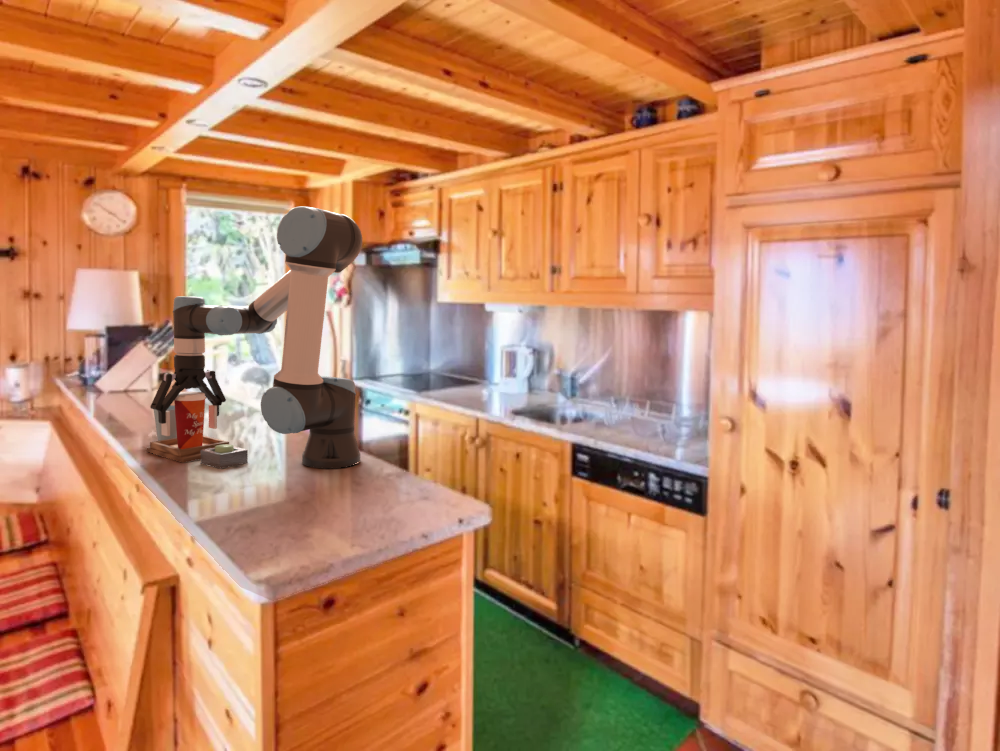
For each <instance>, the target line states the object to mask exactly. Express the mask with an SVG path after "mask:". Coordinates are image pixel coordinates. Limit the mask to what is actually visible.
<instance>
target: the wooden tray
mask: <svg viewBox="0 0 1000 751" xmlns="http://www.w3.org/2000/svg"><path fill="white" fill-rule="evenodd" d="M223 444H229V445H230V441H227V440H225V439H220V438H216V437H211V436H207V435H204V434H203V443H202V446H197V447H191V448H186V449H179V448H178V443H177V438H173V439H167V440H161V441H158V440H155V441H150V442H149V447H146V453H148V452H150V453H149V454H151V453H153V454H152V455H155V454H157V455H156V456H158V455H160V456H159V457H162V456H163V457H162V458H165V457H167V458H166V459H169V458H170V459H169V460H172V459H173V461H175V460H176V462H180V463H182V464H183V463H184V464H185V463H190V462H195V461H199V460H200V461H201V450H203V449H209V448H214V447H215V446H217V445H223Z"/></svg>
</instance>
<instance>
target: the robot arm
mask: <svg viewBox="0 0 1000 751" xmlns="http://www.w3.org/2000/svg"><path fill="white" fill-rule="evenodd" d="M276 240H277V245H279V248H280V250H281V251H282V252H283V253H284V254H285V258H284V260H285V261H284V262H285V264H286V265H287V267H288V268H289V270H288V271H287V272H286V273H285V274H284V275H283V276H281V278H279V279H278V280H277V281H276V282H274V283H273V284H272V285H271V286H270V287H269V288H268V289H266V290H265V291H263V293H262V294H261V295H259V296H258V297H257V298H256V299H255V300H253V301H252V302H251V303H249V305H214V304H213V305H212V304H211V305H210V304H207V305H206V303H205V302H206V301H205V298H204V297H201V296H200V297H199V296H181V295H180V296H178V295H177V296H176V297H174V299H173V307H172V308H173V310H172V314H173V315H172V316H173V352H174V353H175V354H174V356H173V368H174V373H167V372H163V373H162V377H161V382H160V384H159V387H158V389H157V391H156V394H155V396H154V397H153V399H152V402H151V403H150V406H149V407H150V409H151V410H153V409H155V410H158V417H159V418H158V421H159V423H161V431H162V435H165V436H170V411H167V409H168V408H169V407H170V405H172V404H174V403H173V402H174V400H175V399H176V397H177V396H178V395H179V393H180V392H184V390H189V389H198V390H199V392H203V393H204V394H205V397H206V399H207V400H208V402H209V403H210V404H208V428H209V429H213V430H216V429H218V417H219V415H220V406H222V404H223V403H226V401H227V399H226V397H225V395H224V392H223V390H222V388H221V386H220V384H219V382H218V380H217V377H216V376H217V375H216V371H215V370H212V369H210V370H209V369H207V370H206V371H205V368H206V356H205V355H204V354H205V352H206V339H205V337H206V336H205V334H211V335H218V336H221V337H222V336H233V335H242V334H255V335H256V334H257V335H258V334H259V335H260V334H261V335H262V334H265V333H270V332H272V331H273V330H274V329H275V328H276V325H277V324H278V318H280V317H281V316H282V315H283V314H285V312H286V319H285V328H284V339H283V349H282V359H281V367H280V370H278V372H276V373H275V374H274V375H273V382H272V387H269V388H268V389H267V390H265V392H264V393H263V394H262V396H261V398H260V412H261V415H262V418H263V420H264V421H265V422H266V424H267V425H268V427H269V428H271V430H273V431H274V432H277V433H278V434H282V435H288V434H289V435H290V434H299V433H301V432H305V431H308V430H309V433H308V437H307V440H306V444H305V447H304V450H303V452H302V455H301V463H302V465H304V466H306V467H311V468H314V469H315V468H317V469H325V468H333V469H342V468H341V467H345V468H347V467H346V466H350V465H353V464H355V463H357V462H359V461H360V462H361V451H360V450H359V446H358V442H357V438H356V435H355V422H356V421H355V418H356V417H355V416H356V415H355V413H356V394H357V393H356V383H355V381H354V380H352V378H351V379H350V378H345V377H334V376H325V375H320V374H319V366H320V364H319V363H320V358H321V357H320V355H321V350H322V349H321V348H322V338H323V328H324V319H325V310H326V300H327V293H328V292H327V291H328V284H329V277H330V276H331V275H333V274H334V273H335V274H340V273H341V272H343V271H344V270H345V269H346V268H348V267H349V266H350V265H351V264H352V263H353V262H354V261H355V260H356V259H357V257H358V256H359V255H360V252H361V250H362V247H363V234H362V231H361V229H360V226H359V225H358V224H357V222H356V221H354V219H352V218H351V217H349V216H347V215H346V214H343V213H336V212H332V211H329V210H325V209H321V208H317V207H315V206H313V207H310V206H296V207H293V208H291V209H289V210H288V212H287V213H285V214H284V215H283V216H282V217H281V219H280V221H279V224H278V226H277V230H276ZM204 379H206V380H207V382H208V385H209V386H208V385H207V384H206V383H205V381H204ZM174 381H175V382H174ZM172 382H174V383H173V384H172ZM171 386H172V387H171ZM170 387H171V389H170ZM209 387H210V388H211V390H212V391H211V390H210V388H209ZM350 467H351V466H350Z"/></svg>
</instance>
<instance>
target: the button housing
mask: <svg viewBox="0 0 1000 751" xmlns="http://www.w3.org/2000/svg"><path fill="white" fill-rule="evenodd" d="M233 446H234V445H233ZM248 451H249V450H248V449H247V448H242V447H239V446H234V451H230V452H225V453H219V452H215V447H214V448H209V449H203V450H201V460H200V464H202V465H206V466H209V467H213V468H215V469H219V470H220V469H225V468H231V467H235V466H239V465H244V464H248V462H249V461H248V457H249V456H248V453H249V452H248Z"/></svg>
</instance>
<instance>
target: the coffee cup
mask: <svg viewBox="0 0 1000 751" xmlns="http://www.w3.org/2000/svg"><path fill="white" fill-rule="evenodd" d="M206 399H207V398H206V396H205V394H204V393H203V392H201V391H181V392H180V393H179V395H178V396H177V397H176V399H175V400H174V401H173V402H174V403H173V404H174V406H175V417H176V431H177V443H178V448H179V449H186V448H191V447H197V446H202V443H203V435H204V429H205V428H204V424H205V412H206V410H205V408H206Z"/></svg>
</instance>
